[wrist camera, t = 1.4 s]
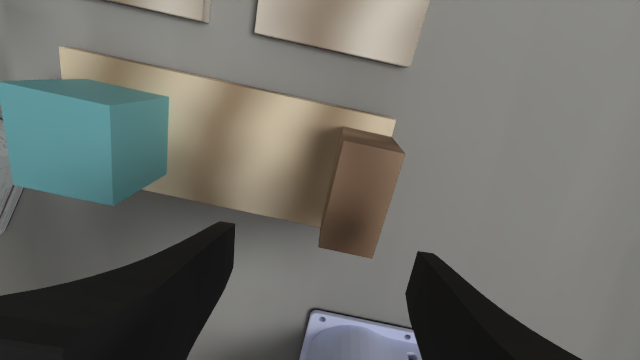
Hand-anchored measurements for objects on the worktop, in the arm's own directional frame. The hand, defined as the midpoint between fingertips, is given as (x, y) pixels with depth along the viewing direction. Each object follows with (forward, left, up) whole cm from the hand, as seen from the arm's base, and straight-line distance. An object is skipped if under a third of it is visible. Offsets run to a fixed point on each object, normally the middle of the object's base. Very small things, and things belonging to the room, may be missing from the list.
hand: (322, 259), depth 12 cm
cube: (+13, -1, -8) cm, 15 cm away
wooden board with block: (+7, -1, -10) cm, 12 cm away
